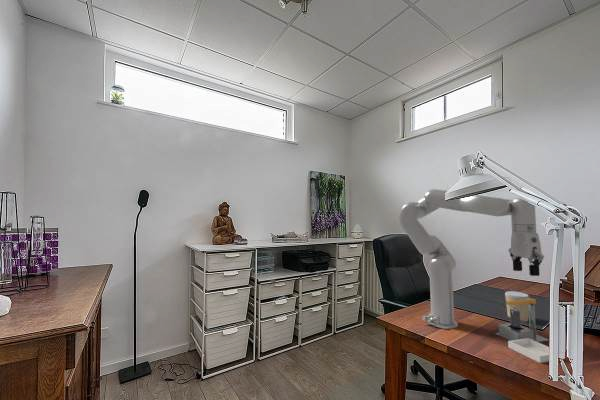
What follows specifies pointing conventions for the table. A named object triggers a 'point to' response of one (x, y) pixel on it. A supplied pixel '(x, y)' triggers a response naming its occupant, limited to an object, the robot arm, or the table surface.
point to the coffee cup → (523, 307)
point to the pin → (515, 318)
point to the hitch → (522, 329)
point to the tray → (531, 349)
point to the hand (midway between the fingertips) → (525, 272)
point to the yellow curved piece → (521, 302)
